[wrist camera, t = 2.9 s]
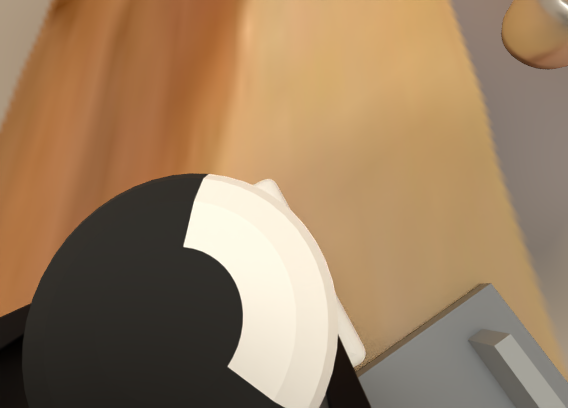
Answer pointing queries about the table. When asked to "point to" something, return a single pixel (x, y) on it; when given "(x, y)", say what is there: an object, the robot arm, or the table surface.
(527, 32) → the plastic bottle
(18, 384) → the robot arm
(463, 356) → the bottle holder
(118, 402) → the medicine bottle
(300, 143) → the table surface
